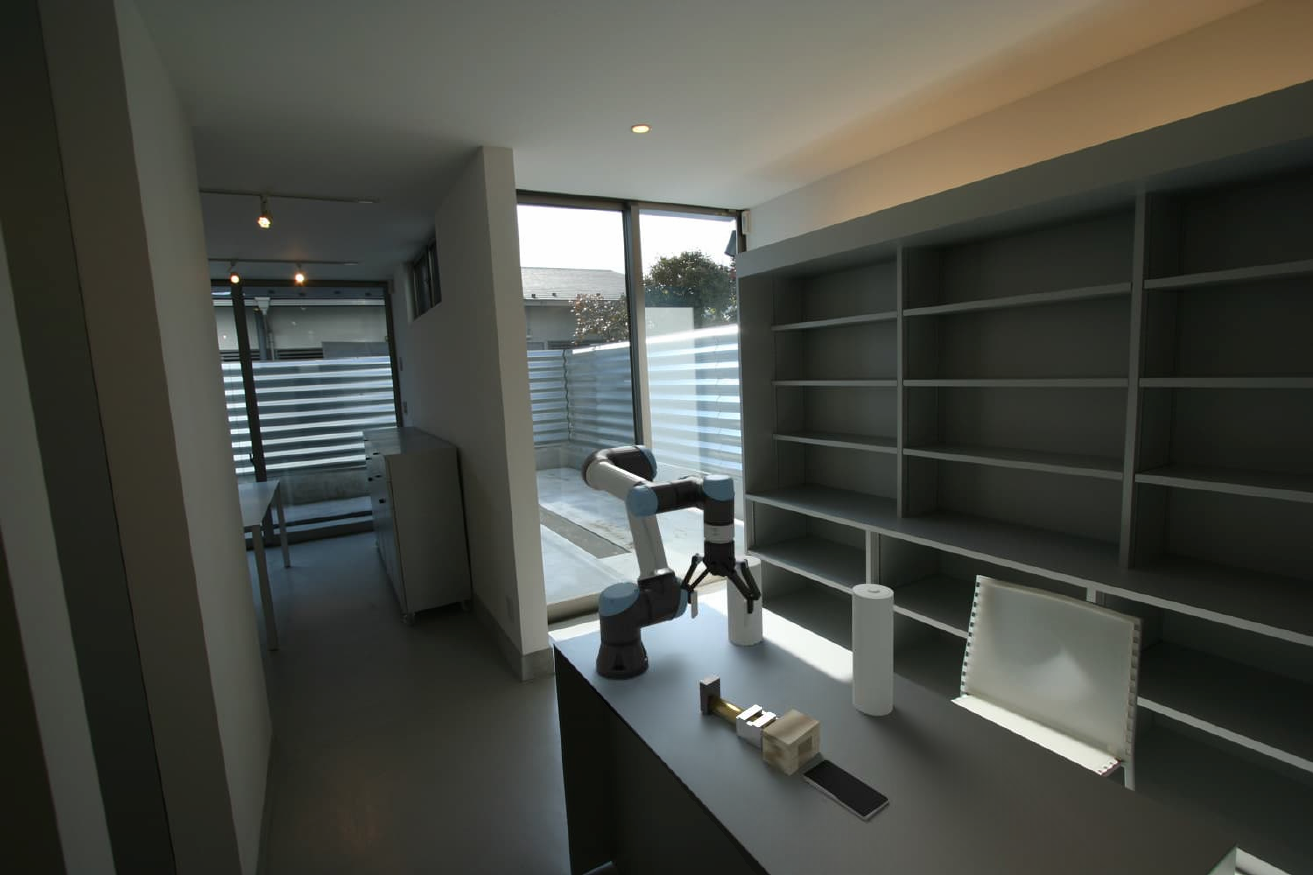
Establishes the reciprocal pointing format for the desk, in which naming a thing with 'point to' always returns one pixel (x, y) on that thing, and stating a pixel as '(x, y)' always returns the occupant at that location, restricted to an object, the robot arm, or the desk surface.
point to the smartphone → (845, 789)
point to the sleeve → (753, 725)
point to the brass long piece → (718, 701)
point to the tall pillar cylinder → (736, 607)
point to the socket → (791, 741)
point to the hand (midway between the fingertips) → (720, 620)
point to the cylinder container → (872, 648)
